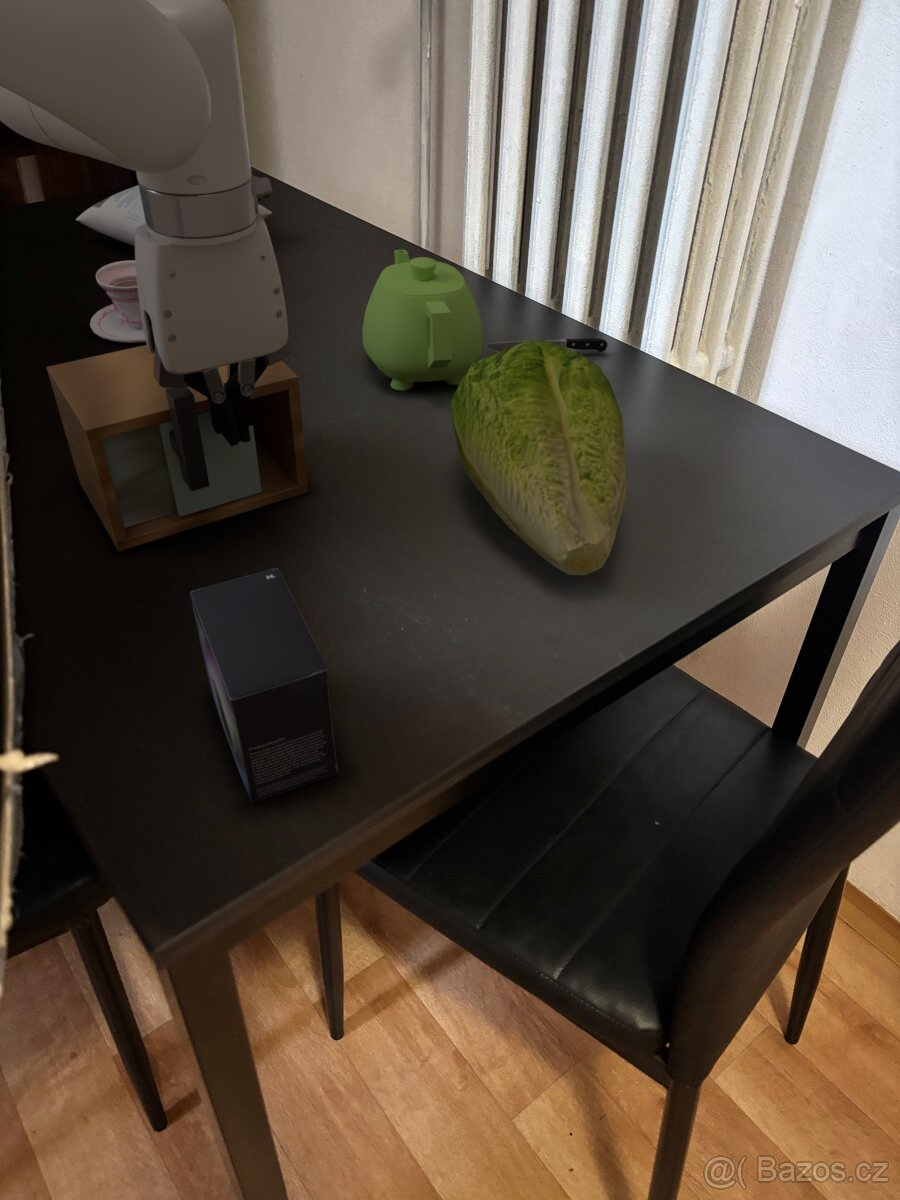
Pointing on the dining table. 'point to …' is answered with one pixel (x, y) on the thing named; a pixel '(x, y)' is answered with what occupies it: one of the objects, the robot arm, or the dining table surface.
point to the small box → (266, 683)
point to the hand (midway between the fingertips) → (234, 435)
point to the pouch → (124, 215)
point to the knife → (569, 343)
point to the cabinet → (135, 450)
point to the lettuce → (546, 450)
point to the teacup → (119, 304)
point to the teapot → (422, 323)
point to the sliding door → (204, 458)
